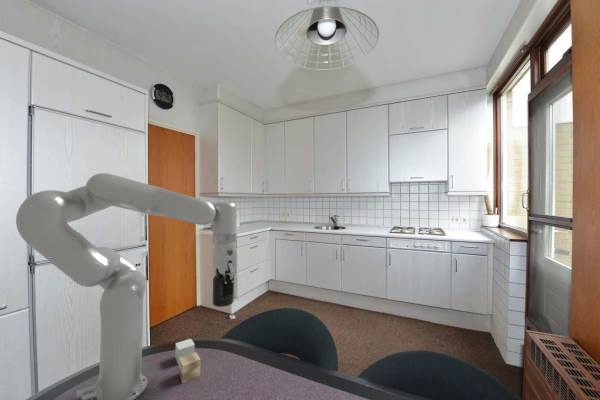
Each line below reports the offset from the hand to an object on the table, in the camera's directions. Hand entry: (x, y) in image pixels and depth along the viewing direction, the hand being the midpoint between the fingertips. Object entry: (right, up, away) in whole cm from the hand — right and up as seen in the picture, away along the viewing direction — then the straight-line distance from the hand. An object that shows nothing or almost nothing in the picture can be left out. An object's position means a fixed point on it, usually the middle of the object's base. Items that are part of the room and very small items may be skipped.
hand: (223, 291), depth 81 cm
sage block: (-14, -24, +2) cm, 28 cm away
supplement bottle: (0, -4, 0) cm, 4 cm away
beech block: (-8, -23, -6) cm, 26 cm away
